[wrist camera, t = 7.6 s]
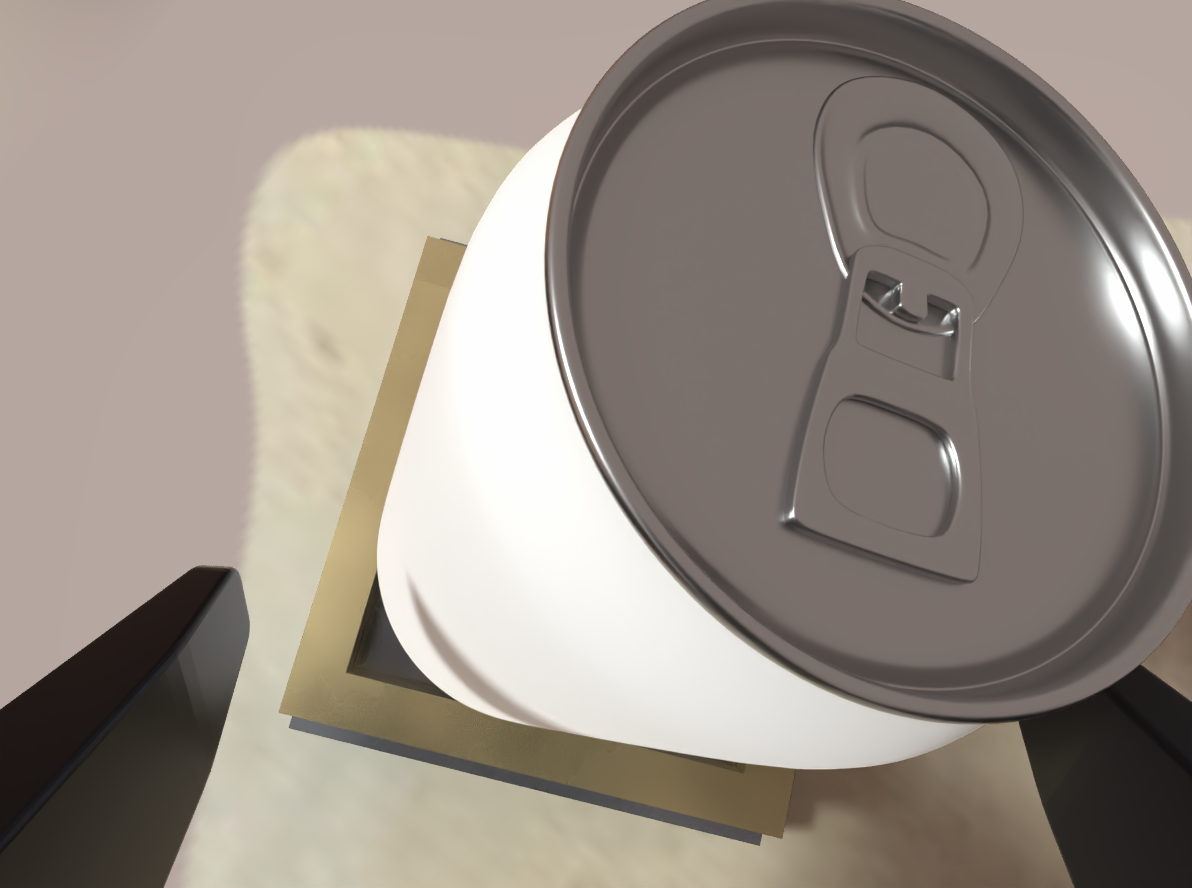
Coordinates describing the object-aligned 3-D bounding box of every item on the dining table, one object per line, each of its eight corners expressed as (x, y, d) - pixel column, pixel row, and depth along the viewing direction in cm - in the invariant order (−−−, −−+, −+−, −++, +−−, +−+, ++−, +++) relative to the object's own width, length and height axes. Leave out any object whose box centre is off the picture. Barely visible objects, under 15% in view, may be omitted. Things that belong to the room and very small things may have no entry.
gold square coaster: (741, 824, 18) (777, 865, 16) (308, 716, 18) (270, 739, 15) (835, 368, 20) (881, 336, 18) (447, 263, 20) (434, 214, 17)
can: (707, 462, 19) (1253, 133, 8) (647, 758, 16) (1304, 900, 5) (431, 366, 17) (613, -202, 6) (325, 675, 15) (317, 640, 4)
